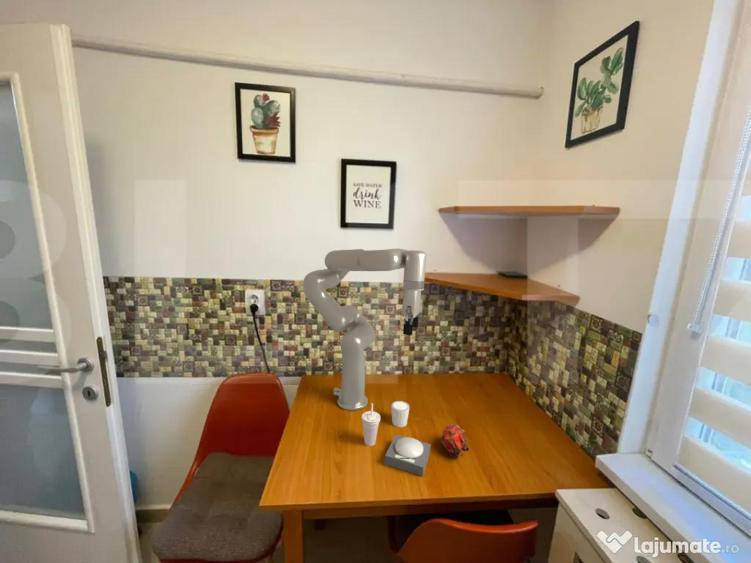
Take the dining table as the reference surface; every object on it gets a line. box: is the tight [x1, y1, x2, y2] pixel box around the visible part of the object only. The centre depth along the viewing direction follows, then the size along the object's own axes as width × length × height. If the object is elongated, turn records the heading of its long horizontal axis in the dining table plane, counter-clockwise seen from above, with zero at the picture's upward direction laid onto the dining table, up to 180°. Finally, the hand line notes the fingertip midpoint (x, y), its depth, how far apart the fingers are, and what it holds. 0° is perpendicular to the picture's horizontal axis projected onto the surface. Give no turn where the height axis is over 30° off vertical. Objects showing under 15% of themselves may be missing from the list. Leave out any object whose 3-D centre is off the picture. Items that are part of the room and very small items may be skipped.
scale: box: [384, 434, 432, 477], centre depth 99 cm, size 12×11×4 cm
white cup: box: [390, 400, 410, 428], centre depth 117 cm, size 7×7×7 cm
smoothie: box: [361, 402, 381, 447], centre depth 105 cm, size 6×6×14 cm
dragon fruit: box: [440, 423, 470, 458], centre depth 104 cm, size 8×8×12 cm
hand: (410, 330), depth 115 cm, fingers open, 9 cm apart
